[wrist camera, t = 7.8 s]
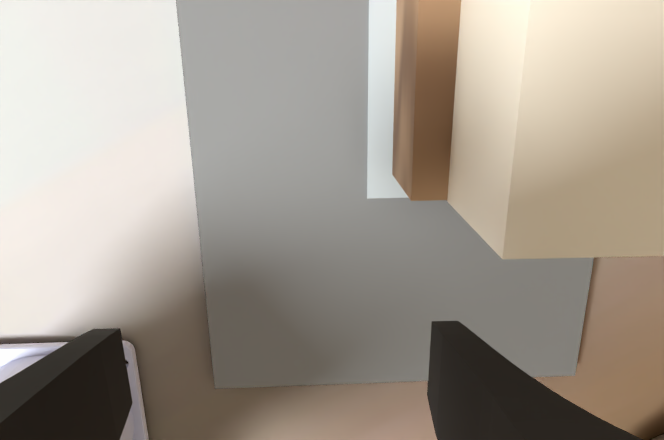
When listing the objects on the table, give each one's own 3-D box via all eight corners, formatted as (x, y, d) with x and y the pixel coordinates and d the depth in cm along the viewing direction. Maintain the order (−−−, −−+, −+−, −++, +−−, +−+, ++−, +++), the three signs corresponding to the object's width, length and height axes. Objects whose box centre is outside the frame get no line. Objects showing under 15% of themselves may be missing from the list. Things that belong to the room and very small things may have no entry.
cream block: (580, 199, 17) (687, 255, 12) (447, 201, 17) (502, 259, 12) (616, -33, 15) (763, -76, 10) (463, -33, 14) (538, -78, 10)
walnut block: (561, 170, 21) (618, 196, 17) (392, 174, 20) (410, 200, 17) (586, -17, 18) (658, -36, 15) (396, -16, 18) (419, -35, 14)
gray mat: (568, 368, 24) (576, 376, 24) (217, 380, 24) (214, 390, 23) (632, -44, 19) (644, -48, 18) (175, -41, 18) (170, -45, 18)
